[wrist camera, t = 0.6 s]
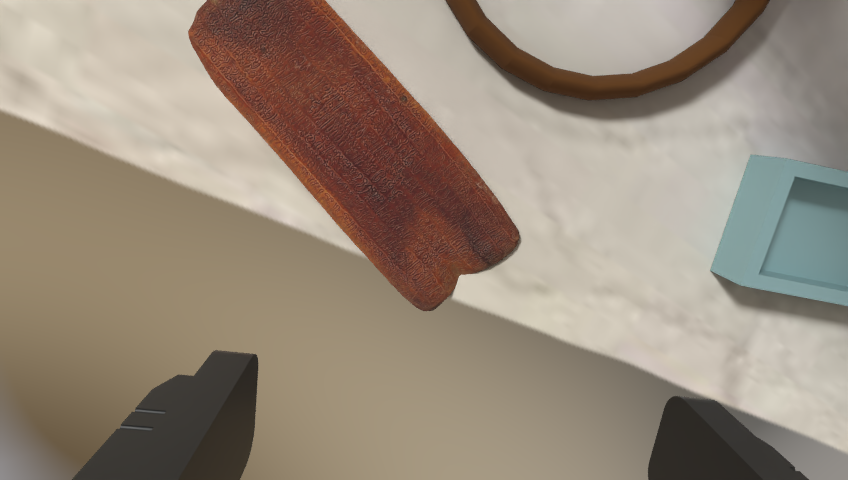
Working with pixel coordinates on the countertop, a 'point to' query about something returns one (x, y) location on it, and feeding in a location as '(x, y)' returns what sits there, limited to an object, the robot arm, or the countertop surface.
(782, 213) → the light blue rectangular tray
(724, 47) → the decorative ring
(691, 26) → the countertop surface
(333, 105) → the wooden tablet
